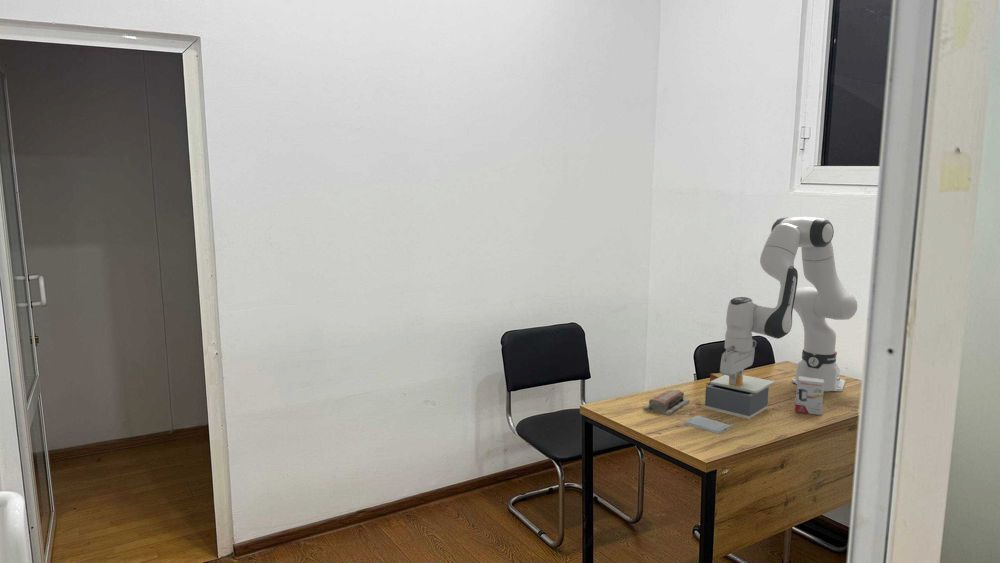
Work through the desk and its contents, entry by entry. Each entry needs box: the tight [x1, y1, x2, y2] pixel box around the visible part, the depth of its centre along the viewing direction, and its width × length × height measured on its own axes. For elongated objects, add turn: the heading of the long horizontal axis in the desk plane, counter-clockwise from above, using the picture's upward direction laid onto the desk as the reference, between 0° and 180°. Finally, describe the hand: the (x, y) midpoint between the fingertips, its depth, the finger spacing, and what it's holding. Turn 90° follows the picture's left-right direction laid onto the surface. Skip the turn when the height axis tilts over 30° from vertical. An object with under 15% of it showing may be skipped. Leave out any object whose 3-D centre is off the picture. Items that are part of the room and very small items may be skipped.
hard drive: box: [684, 415, 733, 435], centre depth 222 cm, size 2×8×12 cm
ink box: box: [794, 376, 825, 416], centre depth 236 cm, size 9×5×12 cm, turn 67°
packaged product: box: [643, 389, 691, 416], centre depth 241 cm, size 18×5×10 cm
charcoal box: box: [704, 383, 770, 420], centre depth 240 cm, size 16×16×8 cm
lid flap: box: [709, 374, 775, 394], centre depth 242 cm, size 17×17×4 cm
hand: (735, 382), depth 238 cm, fingers closed on lid flap, 2 cm apart
